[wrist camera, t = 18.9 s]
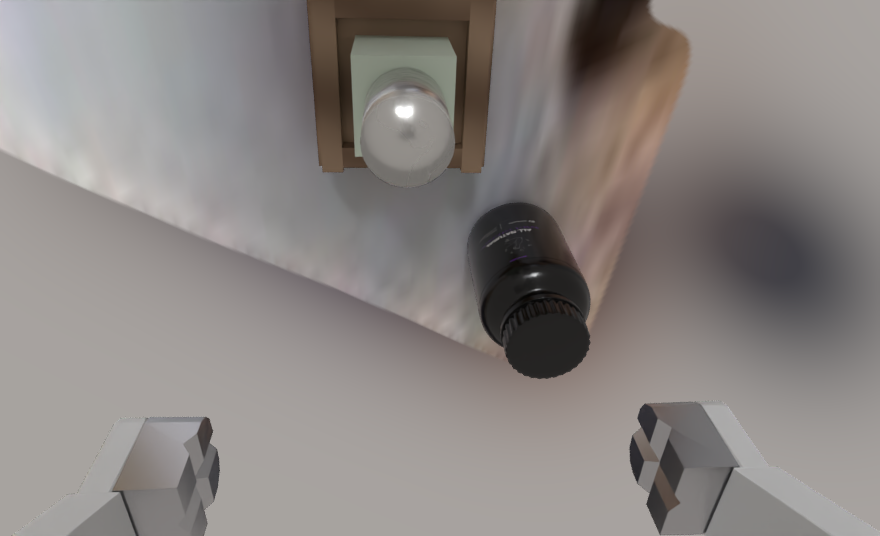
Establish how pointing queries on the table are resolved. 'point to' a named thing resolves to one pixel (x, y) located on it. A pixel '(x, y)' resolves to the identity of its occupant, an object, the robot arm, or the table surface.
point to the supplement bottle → (529, 290)
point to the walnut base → (399, 14)
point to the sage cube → (394, 52)
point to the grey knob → (406, 128)
